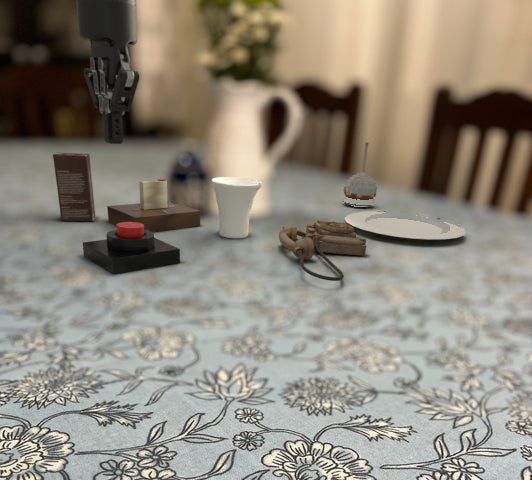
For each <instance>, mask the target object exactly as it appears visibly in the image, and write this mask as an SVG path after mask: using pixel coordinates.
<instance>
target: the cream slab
mask: <svg viewBox="0 0 532 480" xmlns="http://www.w3.org/2000/svg"><path fill="white" fill-rule="evenodd" d="M138 184H139V185H138V186H139V203H140V207H141V209H143V210H148V209H160V208H167V201H168V183H167V180H166V179H165V178H157V179H155V180H139V181H138Z"/></svg>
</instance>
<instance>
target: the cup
mask: <svg viewBox="0 0 532 480" xmlns="http://www.w3.org/2000/svg"><path fill="white" fill-rule="evenodd" d="M211 185H212V188H213V190H214V192H215V198H216V204H217V208H218V234H219V236H221V237H223V238H227V239H244V238H245V239H246V238H247V237H248V236H249V227H250V224H249V223H250V215H251V210H252V208H253V205H254V201H255V196H256V195H257V193H258V191H259V190H260V189H261V188H262V182H261V181H259V180H256V179H253V178H246V177H237V176H236V177H235V176H234V177H232V176H227V177H226V176H224V177H223V176H222V177H220V176H219V177H214V178H212V179H211Z"/></svg>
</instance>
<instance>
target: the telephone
mask: <svg viewBox="0 0 532 480" xmlns="http://www.w3.org/2000/svg"><path fill="white" fill-rule="evenodd" d="M298 237H301V238H300V239H297V238H298ZM278 240H279V242H280V244H281V245H282V246H283V247H285V248H286V249H287V250H288V251H291V253H292V255H294V256H295V257H296V258H298V259H299V264H300V267H301V269H302V270H303V271H304V272H305V273H306V274H308V275H310V276H312V277H315V278H317V279H321V280H324V281H331V282H339V281H341V280H343V279H344V278H345V277H344V276H345V275H344V272H343V271H342V270H341V269H340V268H339V267H337V265H335V264H334V263H333V262H332V260H330V259H329V258H328V257H327V256H326V255H325V254H326V253H327V254H338V255H349V256H362V257H365V255H366V250H367V245H366V243H367V239H366V238H363V237H361V236H357V233H356V232H355V228H354V227H352V226H351V225H349V224H347V223H345V222H337V221H325V220H315V221H314V223H313V224H307V225H306V227H305V231H304V230H301V229H298V226H297V225H290V226H289V225H288V226H286V227H285V226H282V228H281V229H280V230H279V232H278ZM316 253H318V254H319V255H320V256H321V258H322V259H324V261H326V263H327V264H328V265H329V266H330V267H331V268H332V269H334V270H335V272H336V273H338V274H339V276H328V275H323V274H320V273H317V272H315V271H312V270H311V269H308V268H307V267H306V266H305V264H304V261H310V260H311V259H312V258H313V256H314V255H315V254H316ZM324 253H325V254H324Z"/></svg>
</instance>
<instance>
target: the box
mask: <svg viewBox="0 0 532 480" xmlns="http://www.w3.org/2000/svg"><path fill="white" fill-rule="evenodd" d="M52 159H53V166H54V167H53V168H54V174H55V181H56V189H57V196H58V206H59V213H60V220H61V221H62V222H63V221H87V222H89V221H90V222H94V220H95V219H96V209H95V198H94V187H93V178H92V167H91V156H90V153H86V152H85V153H83V152H55V153H53V154H52Z"/></svg>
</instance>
